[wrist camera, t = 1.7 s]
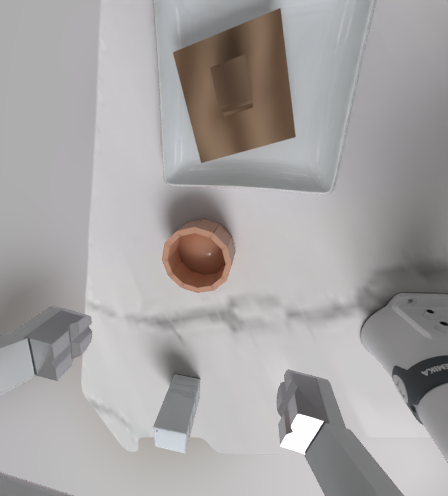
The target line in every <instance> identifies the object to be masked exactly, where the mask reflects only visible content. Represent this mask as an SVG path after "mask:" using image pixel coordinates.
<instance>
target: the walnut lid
mask: <svg viewBox="0 0 448 496" xmlns="http://www.w3.org/2000/svg"><path fill="white" fill-rule="evenodd" d="M173 55H174V59H175V63H176V67H177V71H178V75H179V79H180V82H181V86H182V90H183V94H184V98H185V102H186V106H187V110H188V114H189V118H190V122H191V125H192V129H193V133H194V137H195V141H196V145H197V149H198V153H199V157H200V161H201V163H204V162H208V161H211V160H215V159H219V158H222V157H226V156H229V155H233V154H237V153H240V152H244V151H248V150H251V149H255V148H259V147H262V146H266V145H270V144H273V143H277V142H281V141H284V140H288V139H291V138H295V137H296V135H295V126H294V118H293V109H292V101H291V92H290V84H289V75H288V67H287V59H286V50H285V42H284V33H283V25H282V16H281V8H279V9H277V10H274V11H272V12H269V13H267V14H265V15H262V16H260V17H257V18H255V19H252V20H250V21H248V22H245V23H243V24H240V25H238V26H236V27H233V28H231V29H228V30H226V31H223V32H221V33H219V34H216V35H214V36H211V37H209V38H206V39H204V40H202V41H199V42H197V43H194V44H192V45H189V46H187V47H185V48H182V49H180V50H177V51H175V52H173Z"/></svg>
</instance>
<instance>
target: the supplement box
mask: <svg viewBox="0 0 448 496" xmlns="http://www.w3.org/2000/svg"><path fill="white" fill-rule="evenodd" d="M199 398H200V379H198V378H192V377H187V376H182V375H177V374H174V377H173V379H172V382H171V384H170V387H169V389H168V392H167V394H166V397H165V399H164V401H163V404H162V406H161V409H160V411H159V414H158V416H157V419H156V421H155V424H154V426H153V427H154V437H155V446H156V447H160V448H165V449H169V450H173V451H178V452H182V453H186V449H187V445H188V441H189V437H190V433H191V429H192V425H193V421H194V417H195V413H196V410H197V406H198V402H199Z"/></svg>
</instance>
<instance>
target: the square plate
mask: <svg viewBox="0 0 448 496" xmlns="http://www.w3.org/2000/svg"><path fill="white" fill-rule="evenodd" d="M375 3H376V0H153V5H154V18H155V32H156V46H157V60H158V76H159V94H160V115H161V137H162V157H163V174H164V181H165V183H166V184H168V185H173V186H195V187H233V188H252V189H266V190H277V191H288V192H298V193H310V194H329V193H331V192H332V191H333V190H334V187H335V184H336V180H337V176H338V171H339V167H340V162H341V157H342V152H343V147H344V142H345V137H346V132H347V128H348V123H349V118H350V113H351V108H352V104H353V99H354V95H355V90H356V85H357V81H358V76H359V72H360V68H361V63H362V59H363V54H364V50H365V46H366V42H367V37H368V33H369V29H370V25H371V20H372V16H373V12H374V8H375ZM279 8H281V16H282V25H283V33H284V42H285V50H286V59H287V67H288V75H289V84H290V92H291V101H292V109H293V118H294V126H295V135H296V137H295V138H291V139H288V140H284V141H281V142H277V143H273V144H270V145H266V146H262V147H259V148H255V149H251V150H248V151H244V152H240V153H237V154H233V155H229V156H226V157H222V158H219V159H215V160H211V161H208V162H204V163H201V161H200V157H199V153H198V149H197V145H196V141H195V137H194V133H193V129H192V125H191V122H190V118H189V114H188V110H187V106H186V102H185V98H184V94H183V90H182V86H181V82H180V79H179V75H178V71H177V67H176V63H175V59H174V55H173V52H175V51H177V50H180V49H182V48H185V47H187V46H189V45H192V44H194V43H197V42H199V41H202V40H204V39H206V38H209V37H211V36H214V35H216V34H219V33H221V32H223V31H226V30H228V29H231V28H233V27H236V26H238V25H240V24H243V23H245V22H248V21H250V20H252V19H255V18H257V17H260V16H262V15H265V14H267V13H269V12H272V11H274V10H277V9H279Z"/></svg>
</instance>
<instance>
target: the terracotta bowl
mask: <svg viewBox="0 0 448 496" xmlns="http://www.w3.org/2000/svg"><path fill="white" fill-rule="evenodd" d="M234 255H235V247H234V243H233V239H232V236H231V235H230V234H229V233H228V232H227V231H226V230H225V228H224V227H223V226H222V225H221V224H219V223H216V222H213V221H210V220H207V219H199V220H195V221H190V222H187V223H186V224H185V225H183V226H182V227H181V228H180V229H178V230H177V231H176V232H175V233H174V234H173V235H172V236H171V237H170V238H169V239H168V240H167V241H166V242H165V244H164V250H163V256H162V261H163V264H164V266H165V269H166V272H167V274H168V276H169V277H170V278H171V279H172V280H173V281H175V282H176V283H177V284H178V285H179V286H180V287H181V288H184V289H187V290H190V291H194V292H198V293H200V292H206V291H213V290H215V289H216V288H218V287H219V286H220V285H221V284H223V283H224V282H225V281H226V280H227V278H228V275H229V272H230V269H231V266H232V262H233V259H234Z"/></svg>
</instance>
